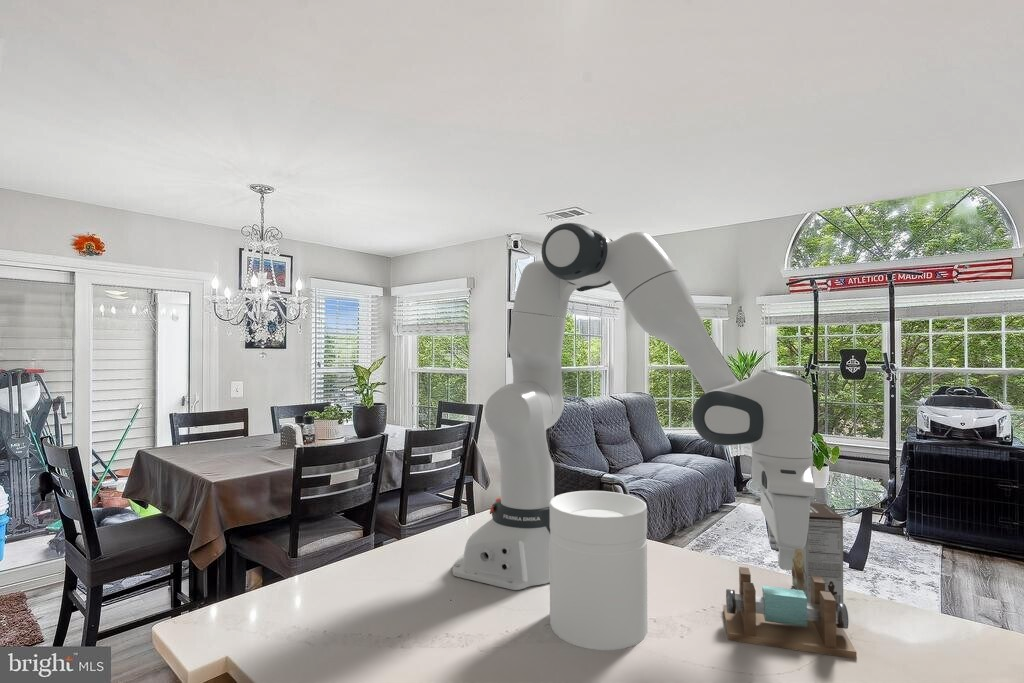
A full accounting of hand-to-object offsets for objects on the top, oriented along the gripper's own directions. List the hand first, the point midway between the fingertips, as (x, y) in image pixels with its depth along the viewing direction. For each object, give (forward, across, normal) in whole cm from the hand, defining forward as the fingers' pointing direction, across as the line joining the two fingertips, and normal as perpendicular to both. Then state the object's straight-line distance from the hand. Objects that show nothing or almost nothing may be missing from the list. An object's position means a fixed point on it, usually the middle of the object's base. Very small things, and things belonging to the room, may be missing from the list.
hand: (779, 557), depth 88 cm
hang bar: (+10, 0, +1) cm, 10 cm away
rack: (+12, 0, +1) cm, 12 cm away
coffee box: (+12, -16, +9) cm, 22 cm away
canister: (+13, +6, -28) cm, 32 cm away
